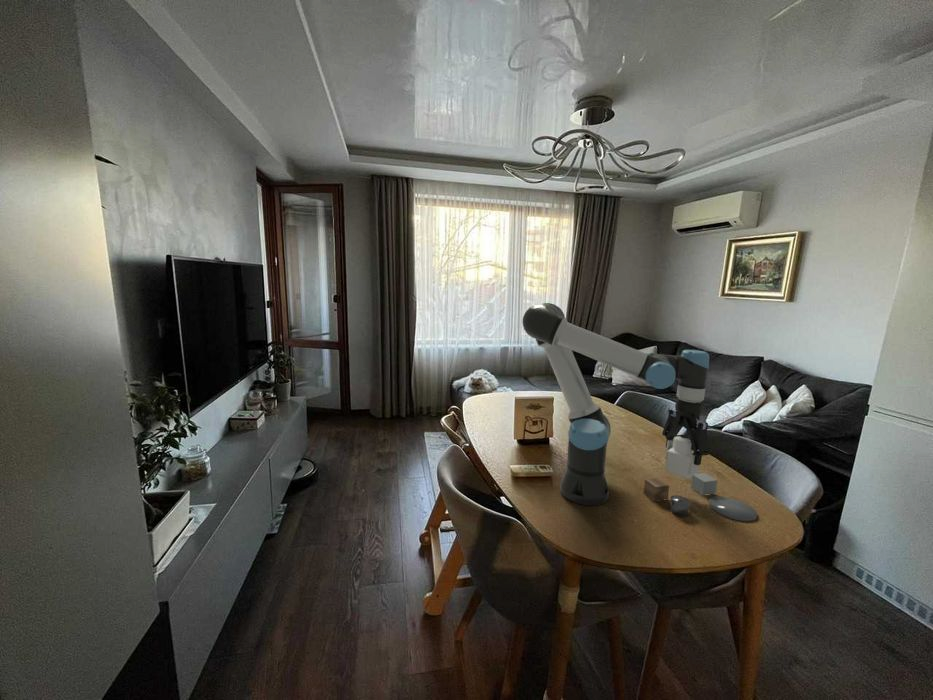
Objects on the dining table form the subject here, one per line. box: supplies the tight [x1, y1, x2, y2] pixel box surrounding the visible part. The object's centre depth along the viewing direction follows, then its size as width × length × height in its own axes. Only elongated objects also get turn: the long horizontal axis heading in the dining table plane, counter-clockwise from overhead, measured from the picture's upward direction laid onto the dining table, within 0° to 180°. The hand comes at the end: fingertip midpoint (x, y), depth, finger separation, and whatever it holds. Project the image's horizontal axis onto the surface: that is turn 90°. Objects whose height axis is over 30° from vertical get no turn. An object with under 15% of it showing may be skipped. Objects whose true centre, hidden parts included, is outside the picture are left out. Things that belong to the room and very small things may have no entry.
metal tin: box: [669, 494, 691, 518], centre depth 114 cm, size 5×5×4 cm
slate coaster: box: [708, 496, 758, 522], centre depth 116 cm, size 12×12×1 cm
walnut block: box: [643, 477, 670, 502], centre depth 123 cm, size 5×5×5 cm
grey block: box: [690, 472, 718, 496], centre depth 127 cm, size 5×5×5 cm
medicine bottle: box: [664, 434, 694, 480], centre depth 123 cm, size 7×7×12 cm
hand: (680, 465), depth 124 cm, fingers closed on medicine bottle, 10 cm apart
